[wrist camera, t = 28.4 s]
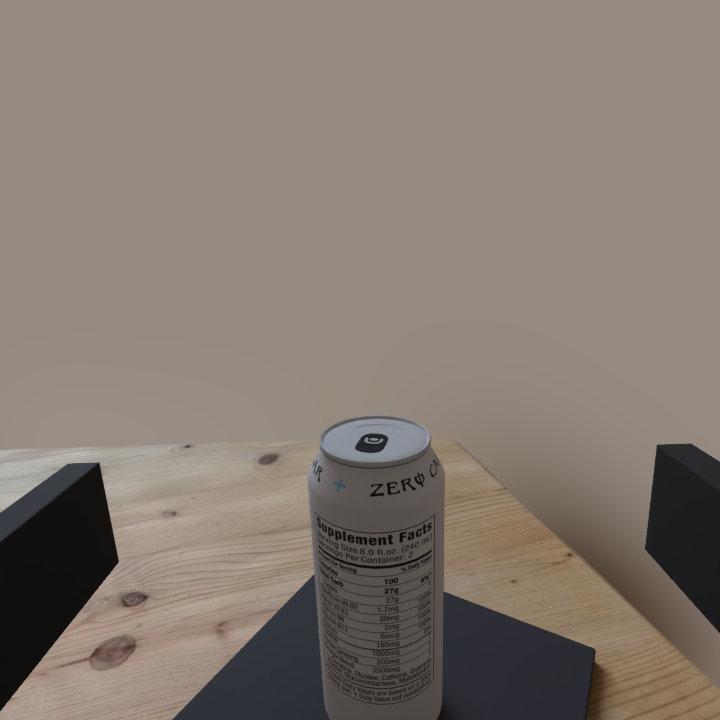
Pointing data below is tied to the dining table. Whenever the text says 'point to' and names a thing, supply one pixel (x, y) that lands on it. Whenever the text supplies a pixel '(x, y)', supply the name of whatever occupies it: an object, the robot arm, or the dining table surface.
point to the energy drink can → (379, 568)
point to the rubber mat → (459, 675)
